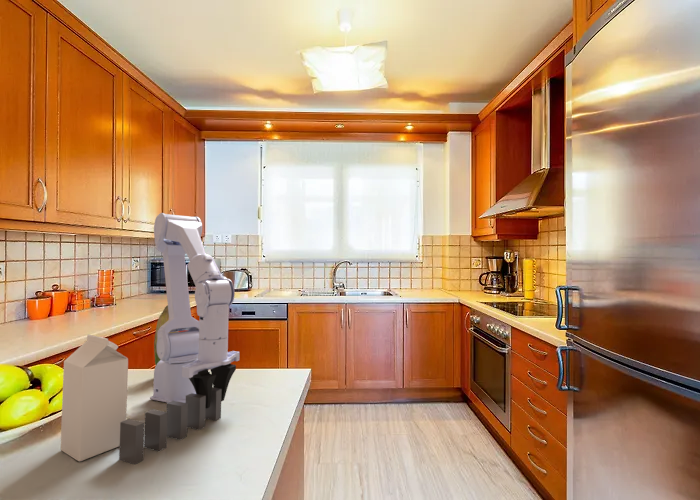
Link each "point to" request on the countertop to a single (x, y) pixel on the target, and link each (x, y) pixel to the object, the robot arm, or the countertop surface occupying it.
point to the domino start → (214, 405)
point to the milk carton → (93, 398)
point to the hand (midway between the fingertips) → (212, 403)
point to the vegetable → (162, 320)
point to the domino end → (131, 441)
